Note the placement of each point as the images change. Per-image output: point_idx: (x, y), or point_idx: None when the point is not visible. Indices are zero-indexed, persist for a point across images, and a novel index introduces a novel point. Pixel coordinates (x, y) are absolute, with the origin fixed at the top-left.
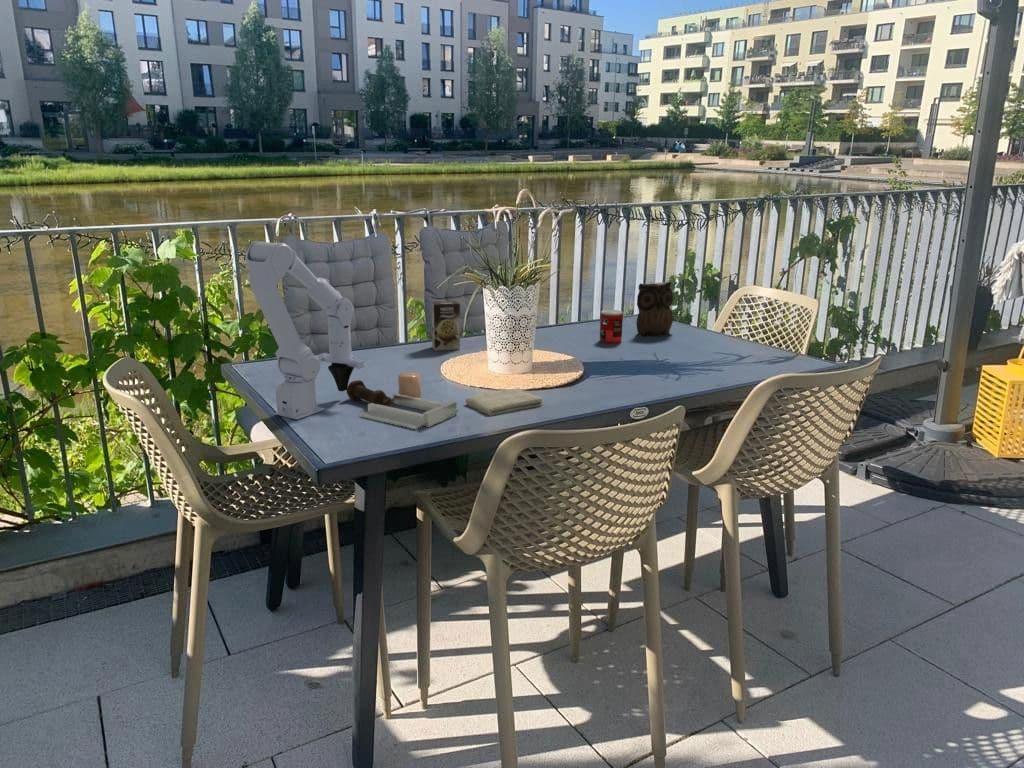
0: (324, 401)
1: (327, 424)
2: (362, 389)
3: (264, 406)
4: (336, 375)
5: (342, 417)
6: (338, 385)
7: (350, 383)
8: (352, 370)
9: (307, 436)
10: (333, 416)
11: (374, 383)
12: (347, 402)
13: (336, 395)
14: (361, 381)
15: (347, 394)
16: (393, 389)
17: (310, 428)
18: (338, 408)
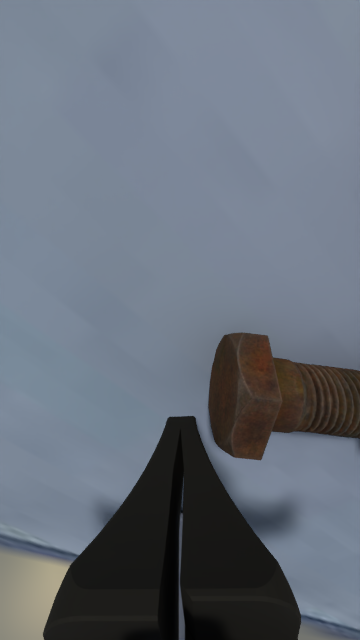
0: (148, 454)
1: (334, 564)
2: (326, 431)
3: (51, 558)
4: (178, 572)
5: (336, 519)
6: (182, 484)
7: (233, 454)
8: (255, 536)
9: (344, 616)
10: (302, 525)
11: (72, 57)
12: None
13: (117, 383)
14: (280, 405)
15: (210, 414)
16: (297, 90)
17: (312, 592)
18: (258, 476)
